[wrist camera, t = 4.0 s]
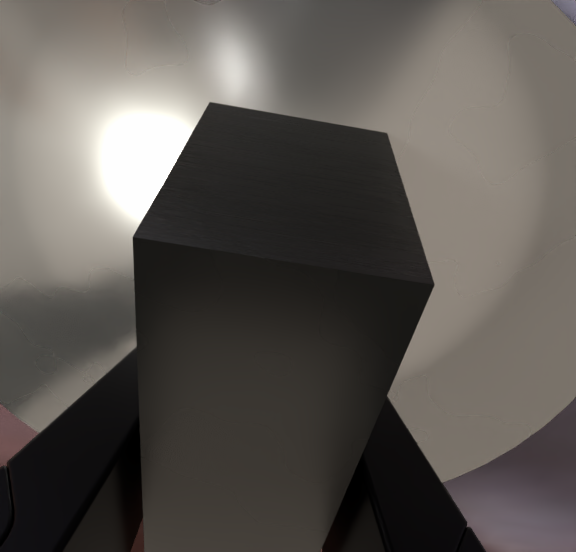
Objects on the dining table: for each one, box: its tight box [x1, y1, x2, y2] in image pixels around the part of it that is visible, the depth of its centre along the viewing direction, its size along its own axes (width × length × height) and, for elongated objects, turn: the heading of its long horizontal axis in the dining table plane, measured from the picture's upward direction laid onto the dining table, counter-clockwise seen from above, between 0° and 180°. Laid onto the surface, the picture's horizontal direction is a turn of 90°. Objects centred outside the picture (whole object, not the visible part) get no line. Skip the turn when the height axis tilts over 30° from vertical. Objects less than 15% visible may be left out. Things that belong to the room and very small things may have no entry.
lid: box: [0, 0, 576, 552], centre depth 8 cm, size 13×13×5 cm
